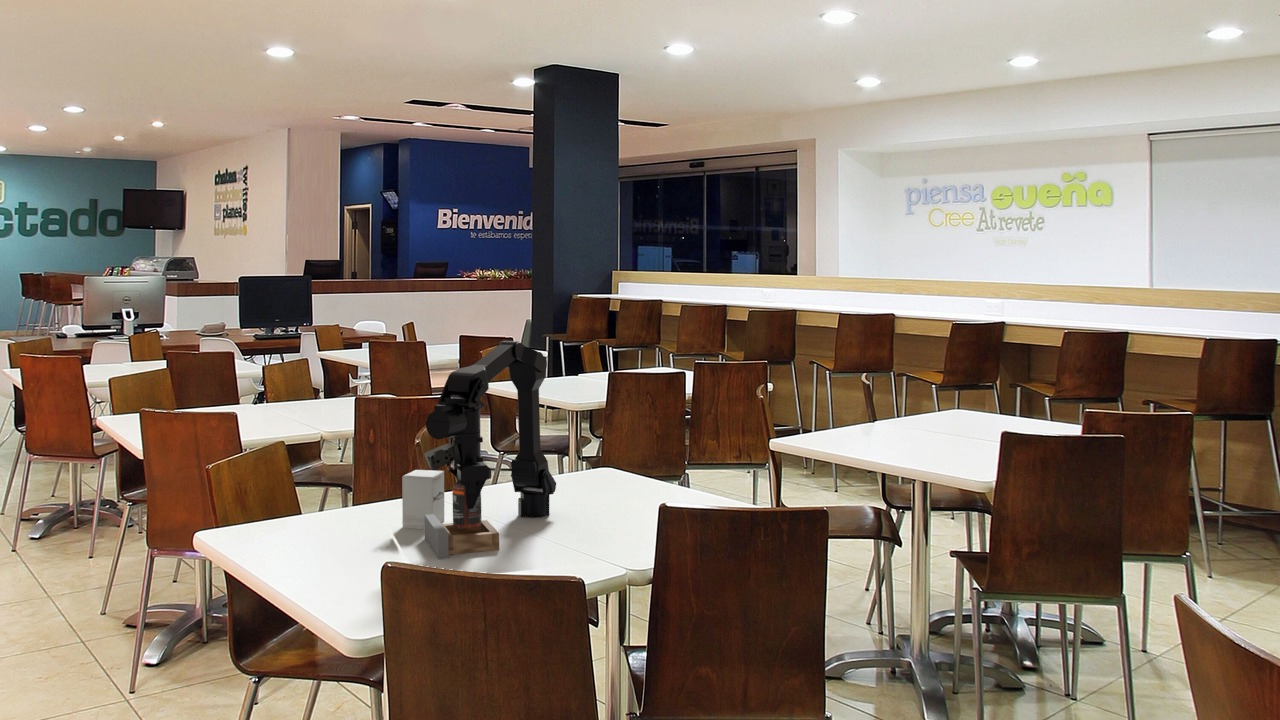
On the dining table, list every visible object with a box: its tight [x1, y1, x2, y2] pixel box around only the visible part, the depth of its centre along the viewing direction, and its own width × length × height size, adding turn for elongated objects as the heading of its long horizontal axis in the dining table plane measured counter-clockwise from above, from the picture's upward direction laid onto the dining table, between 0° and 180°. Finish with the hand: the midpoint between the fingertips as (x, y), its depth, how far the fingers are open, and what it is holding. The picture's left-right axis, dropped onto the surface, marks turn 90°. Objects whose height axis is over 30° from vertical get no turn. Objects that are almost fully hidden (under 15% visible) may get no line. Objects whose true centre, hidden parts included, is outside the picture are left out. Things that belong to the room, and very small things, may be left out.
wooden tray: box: [441, 519, 500, 556], centre depth 210 cm, size 11×11×4 cm
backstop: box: [424, 514, 449, 560], centre depth 211 cm, size 21×16×6 cm
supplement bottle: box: [451, 474, 483, 529], centre depth 210 cm, size 6×6×11 cm
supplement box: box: [401, 469, 445, 530], centre depth 226 cm, size 7×7×13 cm
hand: (467, 505), depth 210 cm, fingers closed on supplement bottle, 6 cm apart
